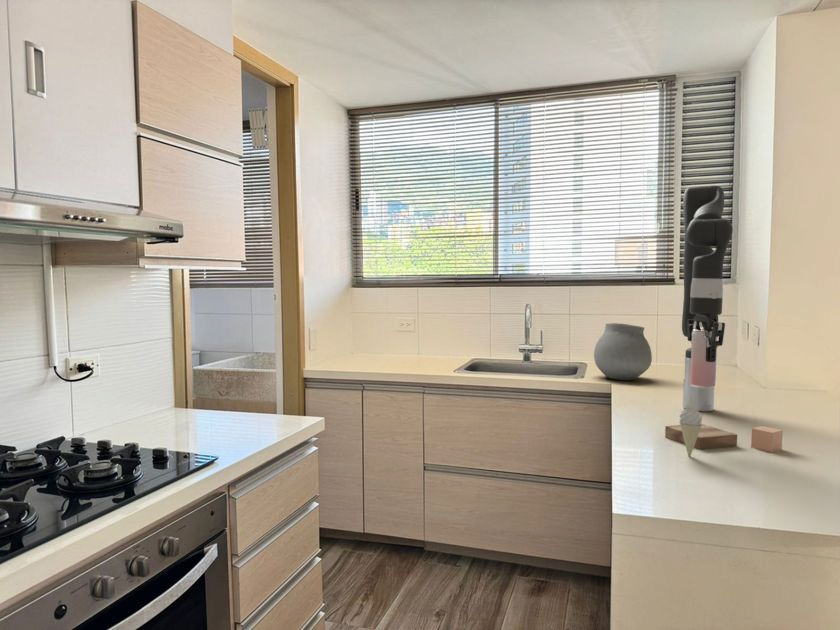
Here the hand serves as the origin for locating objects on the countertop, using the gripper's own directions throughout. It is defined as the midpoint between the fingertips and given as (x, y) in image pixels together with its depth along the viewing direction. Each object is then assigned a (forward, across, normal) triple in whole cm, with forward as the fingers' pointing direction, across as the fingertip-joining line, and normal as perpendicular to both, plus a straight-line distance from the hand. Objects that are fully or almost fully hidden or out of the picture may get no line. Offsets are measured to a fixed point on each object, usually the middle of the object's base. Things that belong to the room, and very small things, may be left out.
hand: (703, 359), depth 146 cm
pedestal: (+22, 0, 0) cm, 22 cm away
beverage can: (+7, 0, 0) cm, 7 cm away
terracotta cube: (+22, +6, +14) cm, 27 cm away
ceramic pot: (+22, -101, +21) cm, 105 cm away
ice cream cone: (+22, +13, -10) cm, 27 cm away
